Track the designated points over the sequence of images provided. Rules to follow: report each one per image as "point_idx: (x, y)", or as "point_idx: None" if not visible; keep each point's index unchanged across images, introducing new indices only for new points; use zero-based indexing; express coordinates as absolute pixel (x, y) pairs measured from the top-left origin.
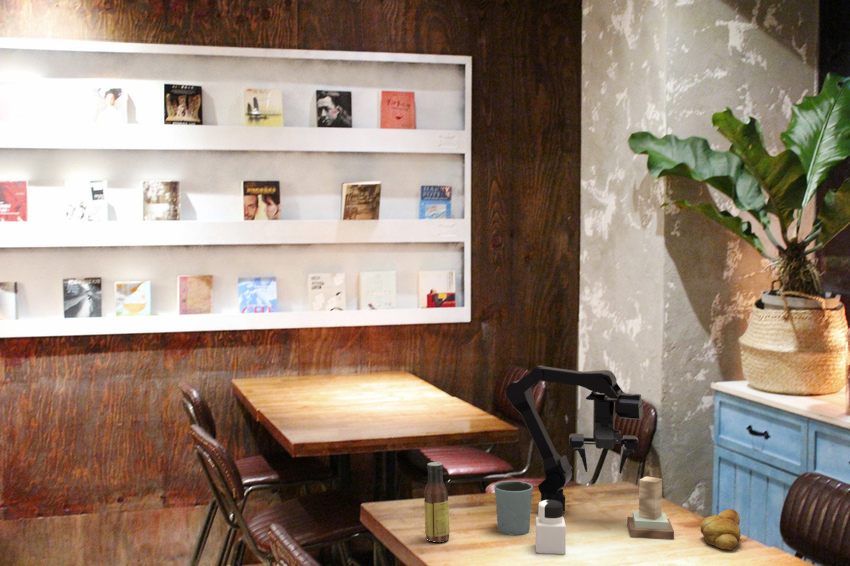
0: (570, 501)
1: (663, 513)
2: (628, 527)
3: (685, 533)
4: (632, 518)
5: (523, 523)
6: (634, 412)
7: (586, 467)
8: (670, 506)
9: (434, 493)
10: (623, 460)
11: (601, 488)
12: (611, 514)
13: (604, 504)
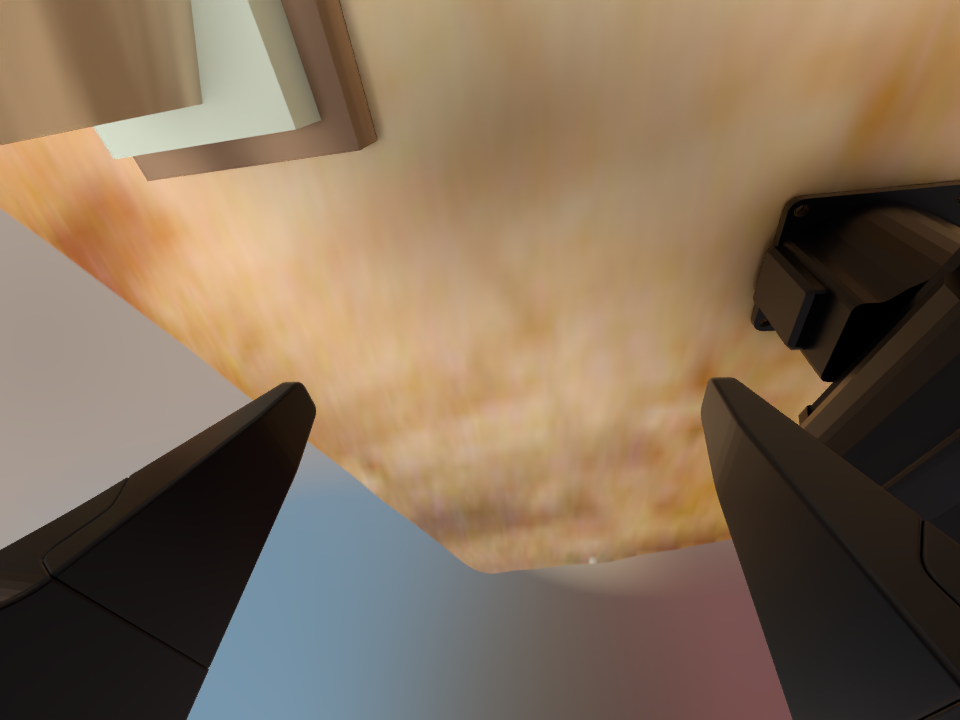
0: (681, 427)
1: (106, 132)
2: (341, 22)
3: None
4: (319, 112)
5: None
6: None
7: (748, 415)
8: None
9: None
10: (109, 503)
11: (543, 540)
12: (485, 289)
13: (527, 411)
